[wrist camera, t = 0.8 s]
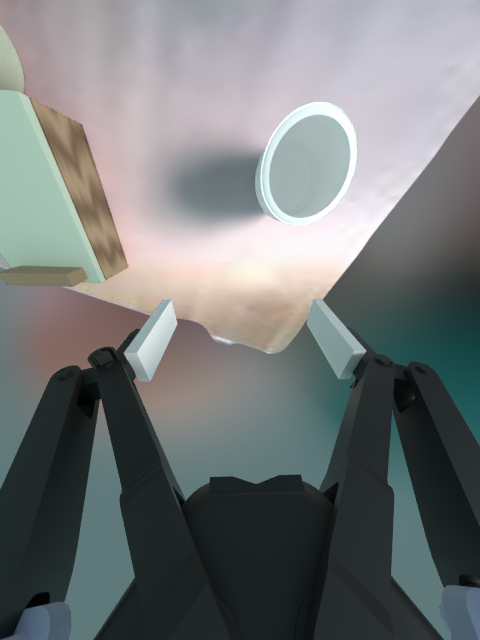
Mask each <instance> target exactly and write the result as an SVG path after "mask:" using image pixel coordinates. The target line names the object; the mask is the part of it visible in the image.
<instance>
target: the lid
mask: <svg viewBox="0 0 480 640" xmlns="http://www.w3.org/2000/svg"><path fill="white" fill-rule="evenodd" d="M0 253H1V255H2V256H3V258H4V259H5V260H6V262H7V263H8V265H9V266H10V267H11V269H8V270H4V271H1V272H0V276H1V277H2V279H3V280H4V281H5V283H6V284H7V285H35V286H69V287H73V286H75V285H77V284H79V283H81V282H91V283H102V282H104V281H105V278H104V276H103V273H102V271H101V269H100V266H99V264H98V261H97V259H96V257H95V254H94V252H93V250H92V247H91V245H90V242H89V240H88V238H87V235H86V233H85V231H84V228H83V226H82V223H81V221H80V219H79V216H78V214H77V212H76V209H75V207H74V204H73V202H72V200H71V197H70V195H69V193H68V190H67V188H66V185H65V183H64V181H63V178H62V176H61V174H60V171H59V169H58V166H57V164H56V162H55V159H54V157H53V155H52V152H51V150H50V147H49V145H48V143H47V140H46V138H45V136H44V133H43V131H42V128H41V126H40V124H39V121H38V119H37V117H36V114H35V112H34V109H33V107H32V105H31V102H30V100H29V98H28V96H26V95H24V94H22V93H20V92H18V91H11V90H0Z"/></svg>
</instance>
